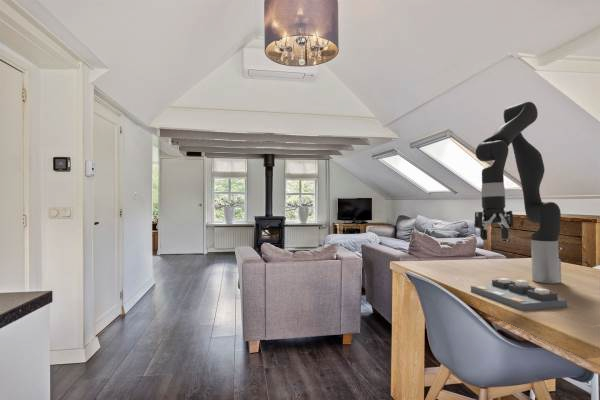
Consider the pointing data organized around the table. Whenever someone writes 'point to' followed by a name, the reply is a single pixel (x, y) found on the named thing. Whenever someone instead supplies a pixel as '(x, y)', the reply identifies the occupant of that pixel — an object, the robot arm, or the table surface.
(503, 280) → the button
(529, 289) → the switch panel
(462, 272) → the table surface
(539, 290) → the button
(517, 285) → the button
